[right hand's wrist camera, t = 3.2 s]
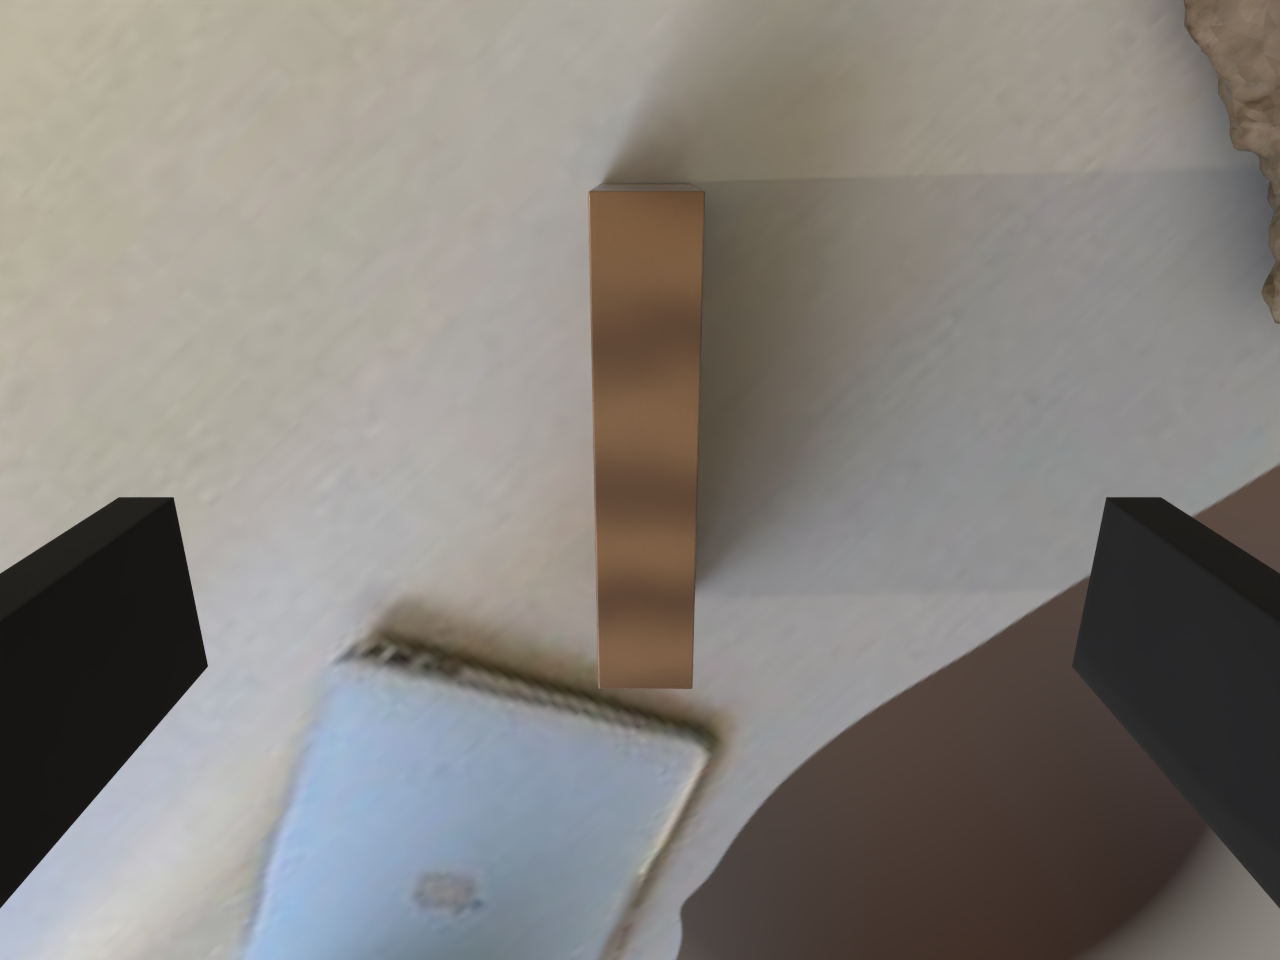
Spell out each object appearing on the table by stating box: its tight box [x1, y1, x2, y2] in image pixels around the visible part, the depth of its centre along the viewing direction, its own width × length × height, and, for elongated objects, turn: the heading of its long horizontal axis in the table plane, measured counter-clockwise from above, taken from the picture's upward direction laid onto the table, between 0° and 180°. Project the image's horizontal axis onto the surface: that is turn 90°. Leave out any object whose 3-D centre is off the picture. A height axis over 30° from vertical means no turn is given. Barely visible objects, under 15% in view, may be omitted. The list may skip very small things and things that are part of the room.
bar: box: [588, 184, 705, 689], centre depth 41 cm, size 23×4×9 cm, turn 0°
